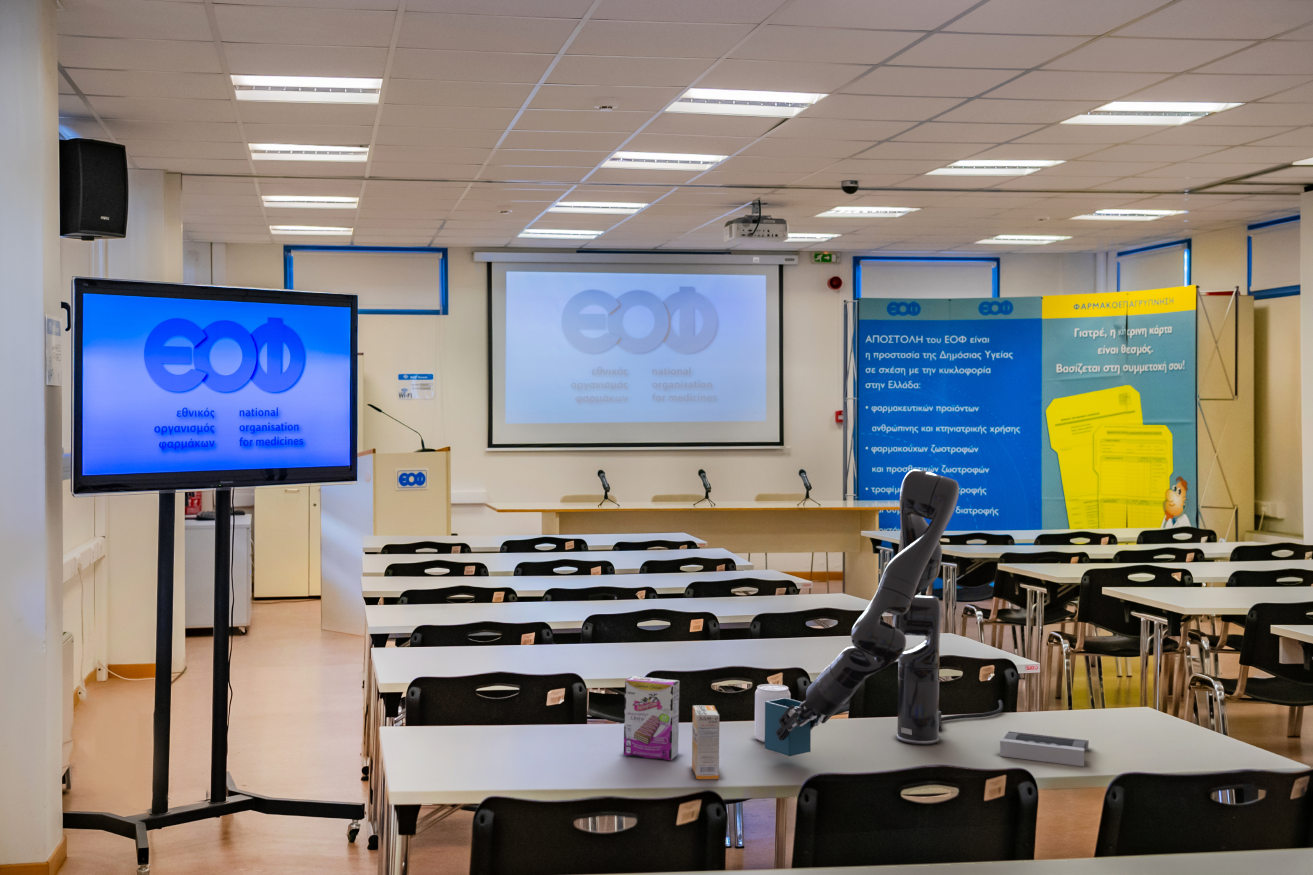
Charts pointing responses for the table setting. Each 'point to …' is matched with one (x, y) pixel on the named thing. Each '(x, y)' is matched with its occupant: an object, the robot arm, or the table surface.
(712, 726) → the supplement box
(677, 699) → the candy bar box
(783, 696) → the beverage can
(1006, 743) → the grey slotted tray
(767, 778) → the table surface
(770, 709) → the teal rectangular box
